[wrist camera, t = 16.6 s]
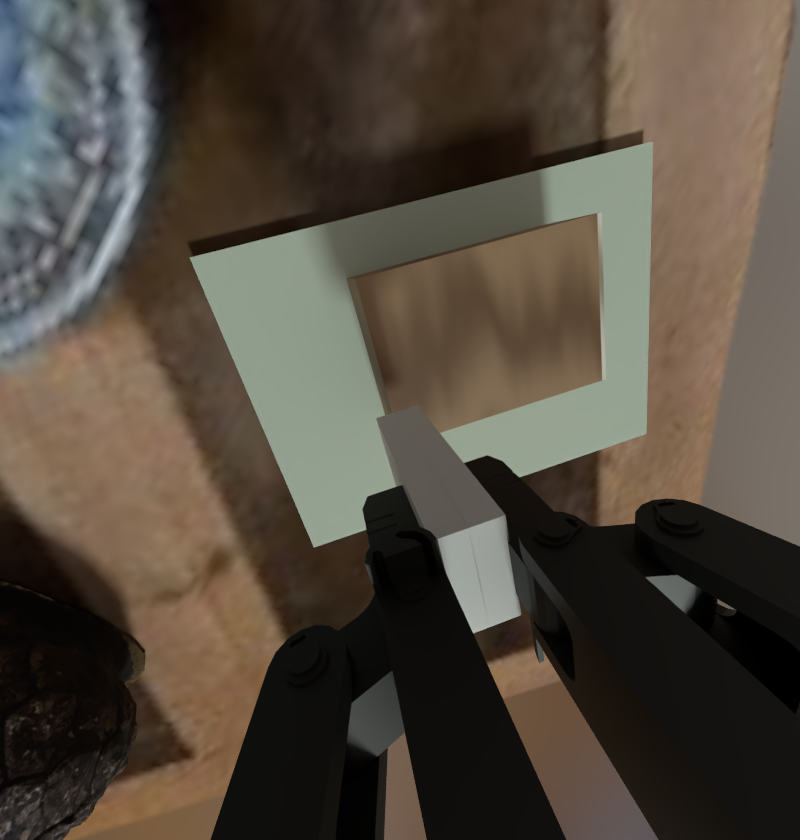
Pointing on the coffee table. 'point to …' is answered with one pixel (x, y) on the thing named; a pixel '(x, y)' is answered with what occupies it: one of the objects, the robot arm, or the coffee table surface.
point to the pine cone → (60, 712)
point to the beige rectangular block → (487, 323)
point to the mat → (347, 355)
